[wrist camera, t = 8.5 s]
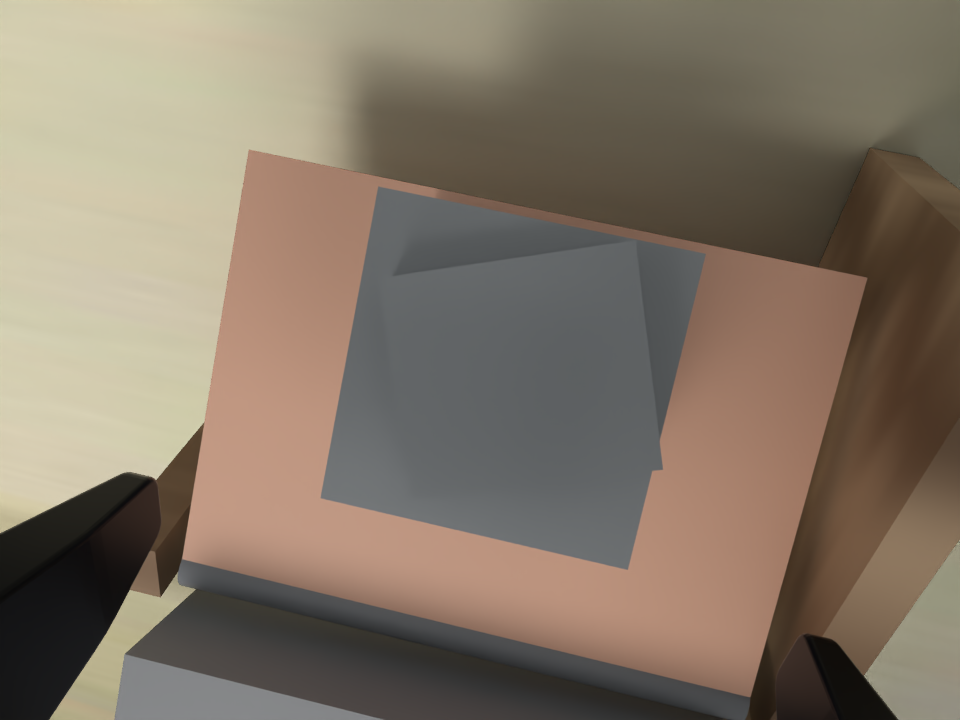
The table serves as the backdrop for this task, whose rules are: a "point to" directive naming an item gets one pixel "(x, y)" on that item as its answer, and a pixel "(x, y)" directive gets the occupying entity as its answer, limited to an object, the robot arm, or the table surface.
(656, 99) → the table surface
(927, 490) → the frame
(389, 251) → the slate block
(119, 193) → the table surface
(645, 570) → the trapdoor
